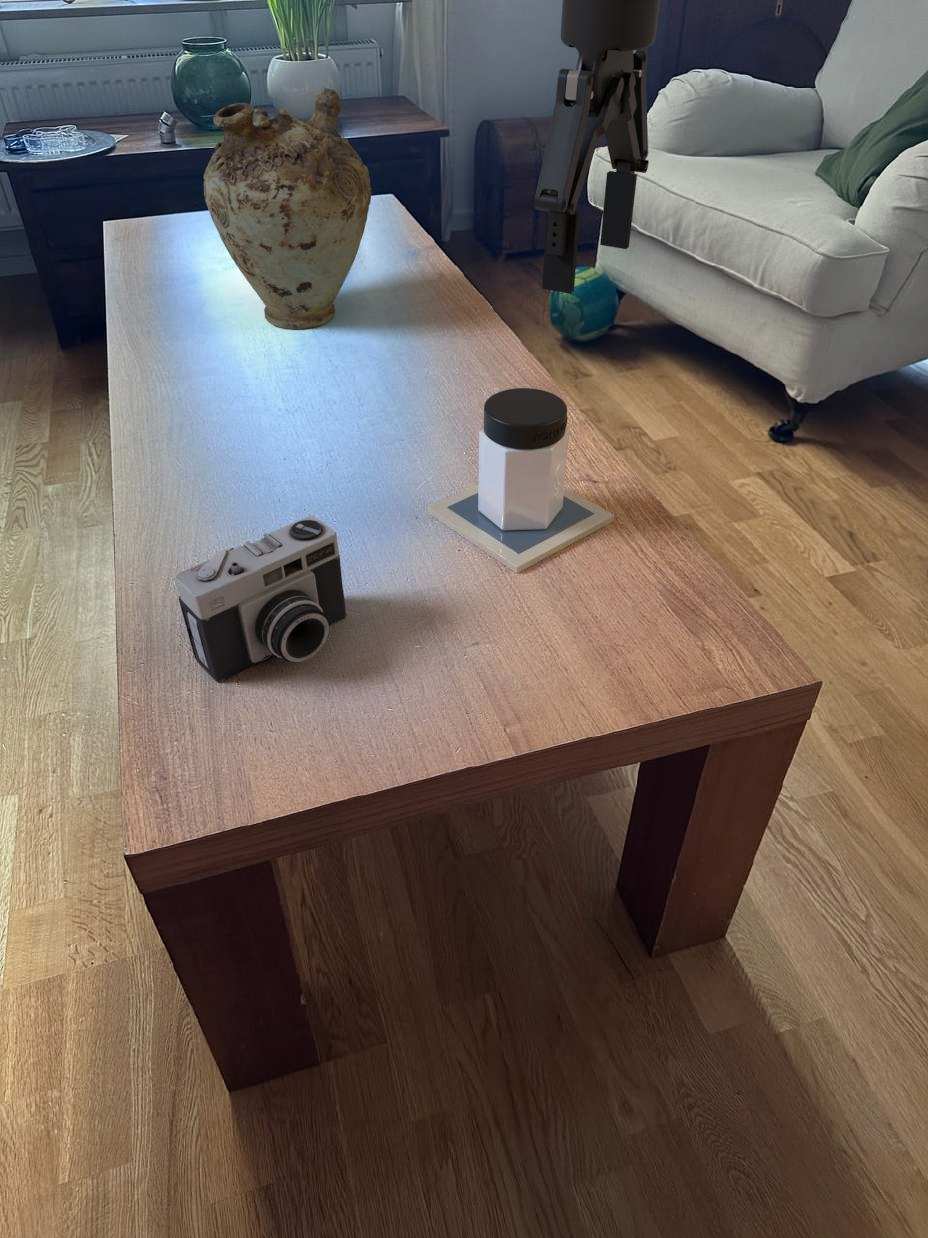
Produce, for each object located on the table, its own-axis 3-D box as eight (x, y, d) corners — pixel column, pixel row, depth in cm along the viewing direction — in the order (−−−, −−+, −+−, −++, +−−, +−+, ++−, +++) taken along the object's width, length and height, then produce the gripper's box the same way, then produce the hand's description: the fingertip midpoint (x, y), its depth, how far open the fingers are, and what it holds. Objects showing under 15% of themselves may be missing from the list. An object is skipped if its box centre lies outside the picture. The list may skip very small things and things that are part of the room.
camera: (226, 710, 72) (201, 613, 66) (188, 650, 78) (162, 557, 72) (375, 647, 78) (365, 553, 72) (328, 597, 84) (316, 506, 78)
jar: (539, 542, 89) (547, 435, 81) (467, 521, 92) (467, 416, 84) (572, 498, 95) (581, 395, 87) (503, 480, 98) (506, 379, 90)
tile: (613, 521, 93) (614, 514, 93) (516, 573, 86) (517, 566, 86) (522, 469, 101) (523, 462, 101) (427, 513, 94) (427, 505, 94)
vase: (403, 331, 129) (367, 96, 109) (243, 361, 126) (178, 127, 107) (378, 280, 146) (344, 70, 127) (238, 306, 144) (181, 96, 124)
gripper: (623, -29, 78) (600, 224, 91) (495, -3, 61) (490, 303, 75) (707, -26, 75) (669, 235, 89) (596, 3, 58) (571, 319, 72)
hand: (587, 267), depth 82 cm, fingers open, 13 cm apart
